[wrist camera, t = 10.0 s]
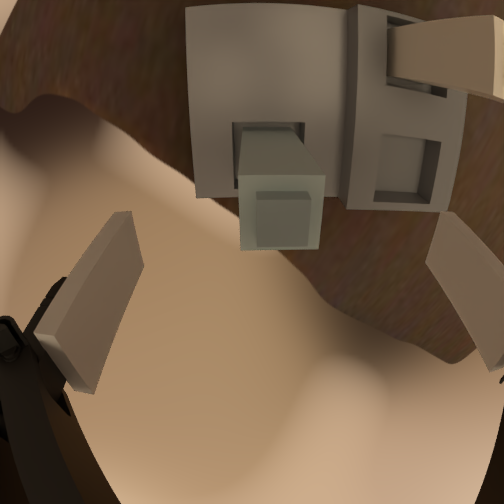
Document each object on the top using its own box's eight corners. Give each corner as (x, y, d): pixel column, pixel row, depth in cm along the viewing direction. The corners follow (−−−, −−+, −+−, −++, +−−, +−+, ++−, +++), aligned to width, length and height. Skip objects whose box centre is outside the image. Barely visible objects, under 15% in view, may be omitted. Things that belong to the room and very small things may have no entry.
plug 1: (242, 126, 25) (237, 182, 13) (290, 126, 25) (330, 183, 13) (243, 170, 27) (240, 261, 15) (289, 170, 27) (321, 260, 15)
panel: (192, 14, 19) (178, 0, 15) (435, 38, 19) (469, 37, 15) (201, 185, 28) (191, 211, 23) (419, 188, 28) (446, 212, 23)
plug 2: (383, 29, 17) (507, 14, 6) (425, 40, 17) (555, 48, 6) (382, 75, 20) (507, 99, 8) (424, 83, 20) (552, 120, 8)
